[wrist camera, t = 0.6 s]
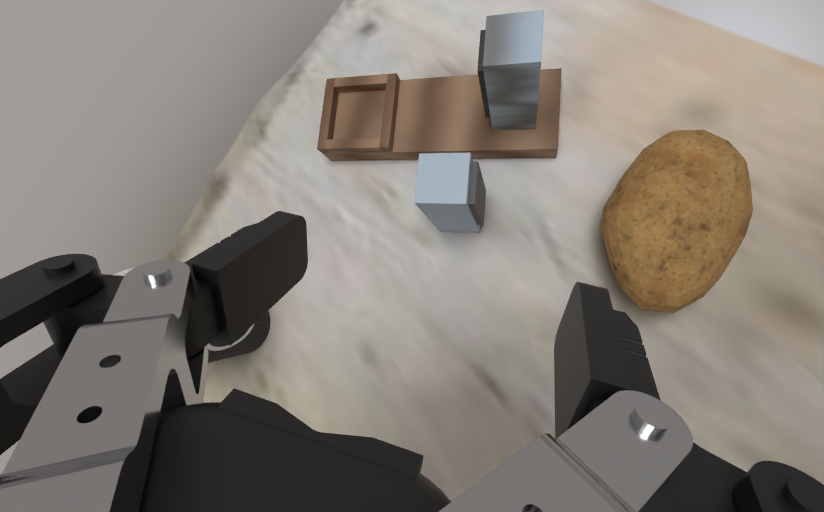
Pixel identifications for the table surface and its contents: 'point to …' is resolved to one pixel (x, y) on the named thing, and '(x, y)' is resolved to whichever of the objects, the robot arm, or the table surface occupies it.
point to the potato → (677, 219)
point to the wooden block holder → (452, 105)
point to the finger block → (451, 191)
